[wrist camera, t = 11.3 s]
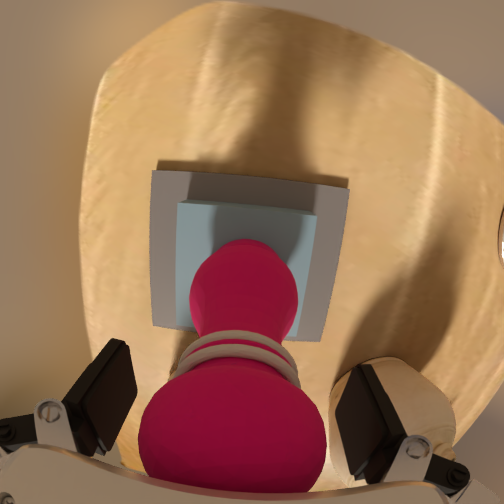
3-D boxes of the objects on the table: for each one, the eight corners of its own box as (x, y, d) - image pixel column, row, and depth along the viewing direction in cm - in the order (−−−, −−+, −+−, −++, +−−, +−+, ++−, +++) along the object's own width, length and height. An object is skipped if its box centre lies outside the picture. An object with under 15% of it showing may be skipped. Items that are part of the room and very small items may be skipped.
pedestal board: (346, 188, 24) (362, 191, 20) (318, 336, 28) (326, 358, 25) (155, 170, 24) (139, 170, 20) (155, 321, 28) (143, 340, 24)
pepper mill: (281, 319, 23) (317, 561, 4) (199, 308, 23) (118, 541, 4) (297, 239, 21) (441, 497, 2) (206, 226, 21) (22, 462, 2)
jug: (374, 427, 34) (417, 548, 10) (296, 414, 32) (318, 578, 8) (435, 359, 30) (521, 479, 6) (363, 331, 28) (466, 522, 4)
